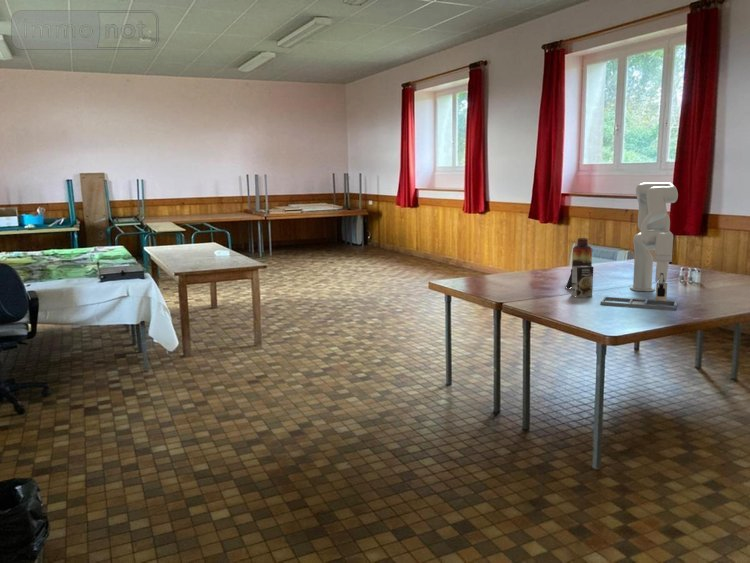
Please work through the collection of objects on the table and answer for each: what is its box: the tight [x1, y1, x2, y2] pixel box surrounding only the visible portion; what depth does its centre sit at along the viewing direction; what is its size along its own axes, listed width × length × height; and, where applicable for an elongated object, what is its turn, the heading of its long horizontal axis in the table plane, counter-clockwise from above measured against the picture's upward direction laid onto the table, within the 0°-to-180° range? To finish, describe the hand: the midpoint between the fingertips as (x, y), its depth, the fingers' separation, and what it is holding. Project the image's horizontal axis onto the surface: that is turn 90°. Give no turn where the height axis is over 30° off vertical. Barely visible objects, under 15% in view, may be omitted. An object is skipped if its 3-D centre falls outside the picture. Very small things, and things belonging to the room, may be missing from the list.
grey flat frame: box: [599, 296, 678, 311], centre depth 302 cm, size 14×34×2 cm, turn 62°
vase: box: [571, 237, 593, 267], centre depth 366 cm, size 11×11×26 cm
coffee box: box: [570, 265, 594, 298], centre depth 325 cm, size 9×6×16 cm
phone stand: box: [565, 268, 572, 288], centre depth 346 cm, size 9×6×12 cm, turn 44°
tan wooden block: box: [655, 282, 668, 301], centre depth 296 cm, size 4×4×8 cm
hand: (661, 295), depth 296 cm, fingers closed on tan wooden block, 4 cm apart
